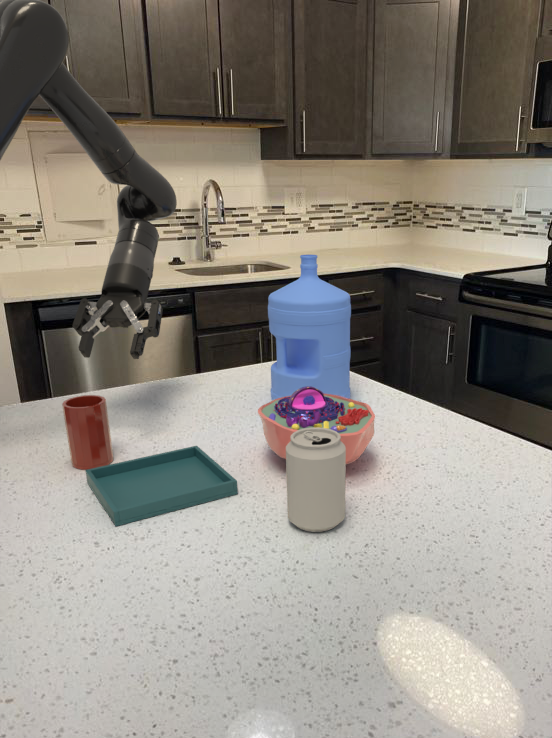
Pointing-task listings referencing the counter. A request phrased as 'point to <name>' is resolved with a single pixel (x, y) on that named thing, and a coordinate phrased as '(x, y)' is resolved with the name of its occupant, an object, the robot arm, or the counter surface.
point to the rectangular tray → (159, 484)
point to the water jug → (310, 335)
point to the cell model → (317, 420)
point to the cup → (88, 431)
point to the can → (315, 479)
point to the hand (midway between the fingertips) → (109, 356)
